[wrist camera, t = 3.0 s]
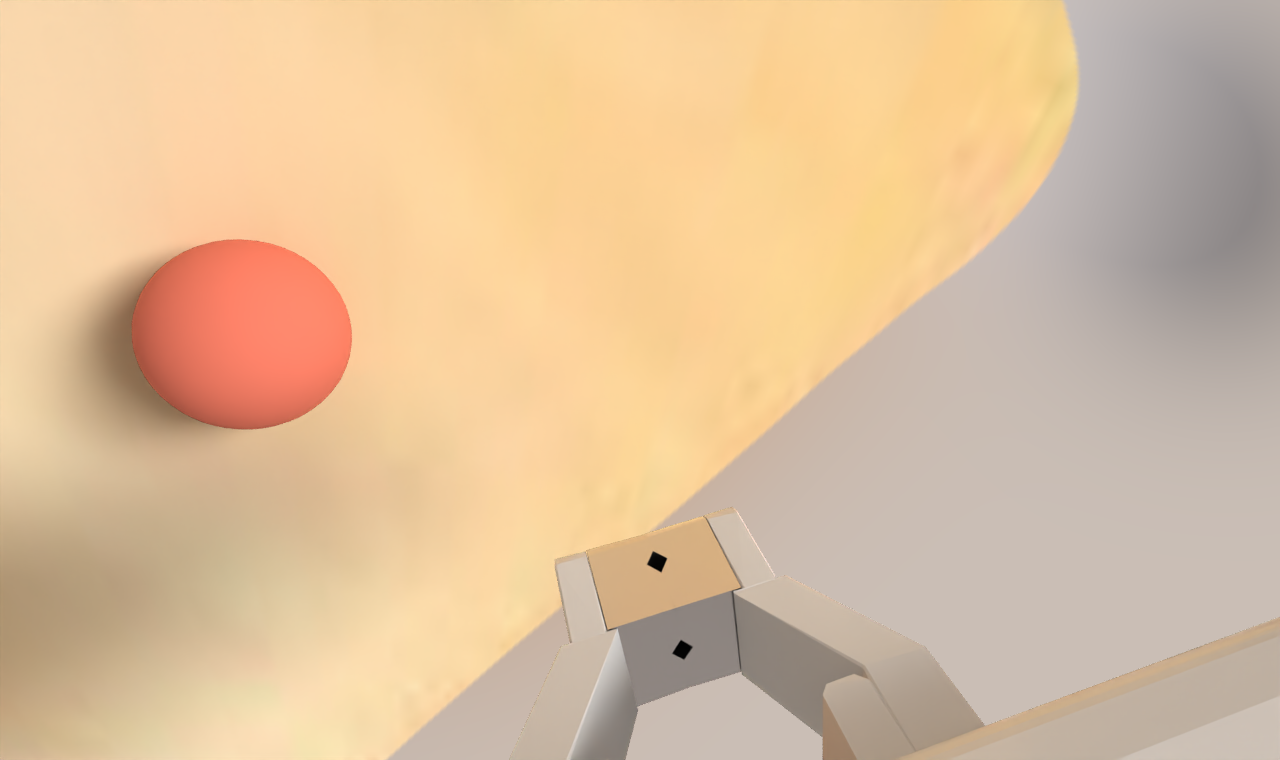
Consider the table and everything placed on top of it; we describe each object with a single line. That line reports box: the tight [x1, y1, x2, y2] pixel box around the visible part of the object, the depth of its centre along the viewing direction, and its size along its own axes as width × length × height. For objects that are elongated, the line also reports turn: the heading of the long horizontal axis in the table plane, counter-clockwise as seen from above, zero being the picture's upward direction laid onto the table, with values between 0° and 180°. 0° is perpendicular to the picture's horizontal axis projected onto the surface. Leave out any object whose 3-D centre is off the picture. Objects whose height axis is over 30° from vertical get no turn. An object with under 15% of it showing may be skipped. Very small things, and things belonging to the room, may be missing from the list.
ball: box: [132, 240, 352, 429], centre depth 21 cm, size 6×6×6 cm
